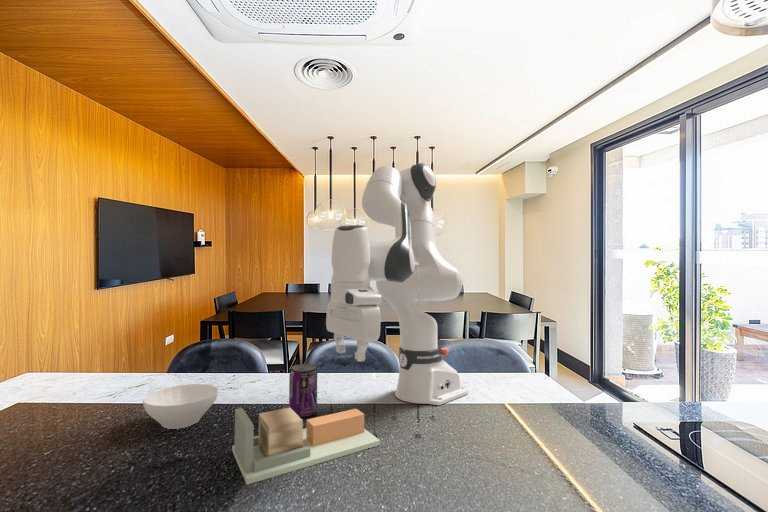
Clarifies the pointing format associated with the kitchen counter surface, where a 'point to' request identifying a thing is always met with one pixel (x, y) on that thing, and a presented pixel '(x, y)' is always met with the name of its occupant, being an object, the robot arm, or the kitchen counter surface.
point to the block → (280, 432)
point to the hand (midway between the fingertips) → (349, 356)
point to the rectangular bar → (334, 426)
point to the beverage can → (303, 389)
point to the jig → (266, 467)
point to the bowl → (180, 404)
